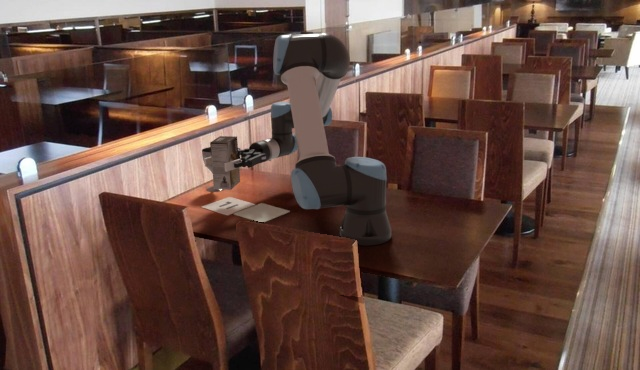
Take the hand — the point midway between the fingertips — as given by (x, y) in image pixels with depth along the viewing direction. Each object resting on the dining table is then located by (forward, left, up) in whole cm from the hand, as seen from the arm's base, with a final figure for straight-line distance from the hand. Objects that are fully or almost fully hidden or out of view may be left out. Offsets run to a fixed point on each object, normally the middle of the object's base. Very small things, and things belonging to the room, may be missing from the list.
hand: (215, 164), depth 194 cm
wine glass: (+18, -14, -16) cm, 28 cm away
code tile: (0, -4, -16) cm, 16 cm away
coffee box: (0, -4, -8) cm, 10 cm away
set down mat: (-14, -6, -16) cm, 22 cm away
